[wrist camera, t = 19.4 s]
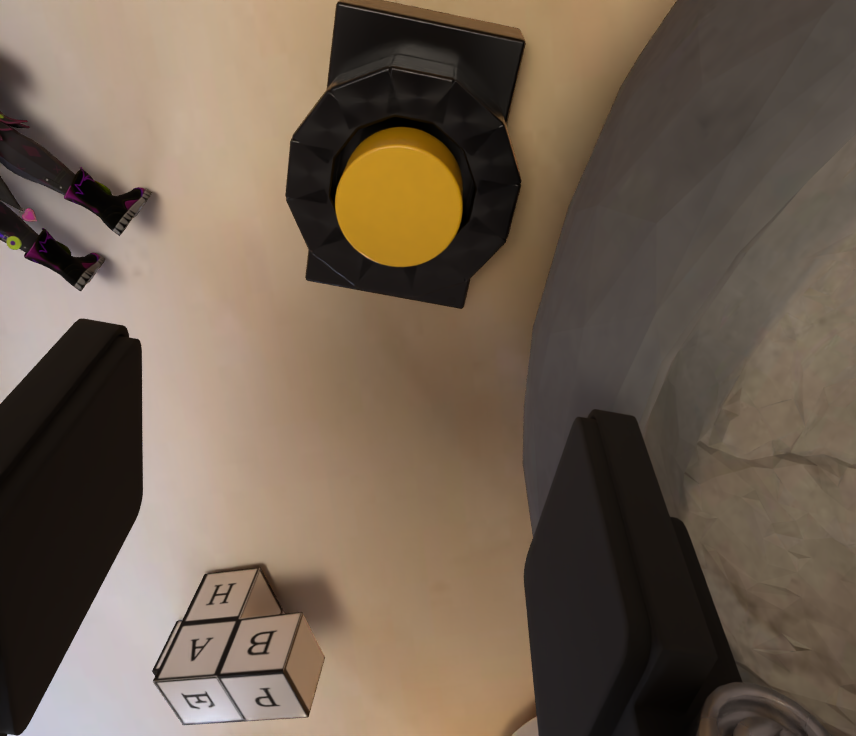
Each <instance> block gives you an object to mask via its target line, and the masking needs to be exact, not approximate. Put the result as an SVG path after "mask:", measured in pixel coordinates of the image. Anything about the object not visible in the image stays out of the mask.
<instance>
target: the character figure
mask: <svg viewBox="0 0 856 736" xmlns="http://www.w3.org/2000/svg"><path fill="white" fill-rule="evenodd" d="M23 122H28V121H27V120H16V119H12V118H9V117H7V116H5V115H4V114H3V113H2V112H1V111H0V162H1V163H2V164H3V165H4V166H5V167H6V168H7V169H9V170H10V171H12V172H13V173H15V174H17V175H19V176H21V177H23V178H25V179H28V180H30V181H33V182H36V183H39V184H41V185H44V186H46V187H48V188H51V189H53V190H55V191H57V192H59V193H61V194H63V195H64V199H66V200H69V201H71V202H74V203H76V204H79V205H81V206H83V207H85V208H86V209H88V210H90V211H91V212H93V213H94V214H96V215H97V216H99V217H100V218H101V219H102V221H103V222H104V223H105V224H106V225H107V226H108V227H109V228H110V229H111V230H112V231H113V232H115V233H116V234H118V235H119V236H120V235H121V234H122V233H123V231H124V230H125V229H126V227H127V226H128V224H129V223H130V221H131V220H132V218H134V217H135V216H136V215H137V214H138V213H139V212H140V210H141V208H142V207H143V205H144V204H145V203H146V201H147V200H148V198H149V197H150V195H151V193H152V192H150V191H148V190H146V189H144V188H139V187H138V188H134V189H133V190H132V191H130V192H128V193H125V194H123V195H119V196H113V195H112V193H111V191H110V190H109V189H108V188H107V187H106V186H104V185H103V184H101V183H99V182H97V181H95V180H93V178H92V177H91V176H90V175H89V174H88V173H87V172H85V171H84V170H83V169H82V167H80V170H79V171H78V172H77V173H76V175H75V174H74V173H73V172H72V171H71V170H70V169H68V168H67V167H66V166H65V165H64V164H63V163H61V162H60V161H59V160H58V159H57V158H56V157H54V156H53V155H52V154H51V153H50V152H48V151H47V150H46V149H45V148H43V147H42V146H41V145H39V144H38V143H36V142H35V141H33V140H32V139H30V138H28V137H26V136H24V135H23V134H21V133H20V132H18V131H16V130H15V129H13V128H12V127H14V128H20V129H22V128H30V127H29V126H26V125H23V124H21V123H23ZM11 126H12V127H11ZM0 200H2V201H3V202H5V203H7V204H9V205H11V206H13V207H15V208H17V209H19V210H20V211H19V213H21V211H23V210H25V209H23V208H21V207H20V205H19V204H18V202H17V201H16V199H15V198H14V196H13V195H12V193H11V192H10V190H9V188H8V187H7V185H6V184H5V182H4V181H3V179H2V178H1V176H0ZM22 209H23V210H22ZM24 212H25V213H24ZM24 212H23V213H21V214H23V215H22V218H23V220H25V221H37V220H36V216H35V213H34V211H33V210H32V209H30V208H28V209H26V210H25V211H24ZM23 220H22V219H21V218H20V217H19V216H18V215H17V214H16V213H14V212H13V211H12V210H11V209H10V208H9V207H7V206H6V205H5V204H3V203H2V202H1V201H0V240H1V241H3V242H5V243H7V246H8V247H9V248H11V249H13V250H17V249H21V250H22V251H24V252H26V253H25V255H24V257H25V258H26V259H28V260H31V261H33V262H36V263H38V264H41V265H43V266H46V267H48V268H50V269H51V270H53V271H55V272H57V273H58V274H60V275H61V276H62V277H63V278H64V279H65V280H66V281H68V282H69V283H70V284H71V285H72V286H74V287H75V288H76V289H78V290H79V291H82V289H83V288H84V287H85V285H86V284H87V283H89V282H90V281H91V279H92V278H93V276H94V275H95V274H96V272H97V271H98V269H99V268H100V267H101V265H102V264H103V263H104V261H105V259H104V258H103V257H101V256H100V255H98V254H96V253H90V254H88V255H86V256H85V257H73V256H71V252H70V250H69V248H68V247H66V246H65V245H63V244H62V243H60V242H58V241H56V240H55V239H54V238H53V237H52V236H51V235H50V234H49V233H48V232H47V230H46V229H44V228H42V230H43V231H42V232H41V233H40V234H39V235H38V234H37V233H36V232H35V231H34V230H33V229H32V228H30V227H29V226H28V225H27V224H26V223H25V222H24V221H23Z"/></svg>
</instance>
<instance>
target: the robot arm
mask: <svg viewBox="0 0 856 736" xmlns="http://www.w3.org/2000/svg"><path fill="white" fill-rule="evenodd" d="M142 495H143V455H142V349H141V343H140V341H139V340H138V339H134V338H129V333H128V330H127V328H126V327H125V326H123V325H117V324H111V323H106V322H100V321H94V320H89V319H79V320H77V321H76V322H75V323H74V324H73V325H72V326H71V327H70V328H69V330H68V331H67V332H66V333H65V334H64V335H63V336H62V337H61V338H60V339H59V341H58V342H57V343H56V344H55V345H54V346H53V347H52V348H51V349H50V350H49V351H48V353H47V354H46V355H45V356H44V357H43V358H42V359H41V360H40V361H39V362H38V364H37V365H36V366H35V367H34V368H33V369H32V370H31V371H30V372H29V373H28V374H27V376H26V377H25V378H24V379H23V380H22V381H21V382H20V383H19V384H18V385H17V387H16V388H15V389H14V390H13V391H12V392H11V393H10V394H9V395H8V396H7V397H6V399H5V400H4V401H3V402H2V403H1V404H0V736H7V734H11V735H20V734H21V733H22V732H23V731H24V730H25V729H26V727H27V726H28V724H29V722H30V721H31V719H32V717H33V715H34V713H35V711H36V709H37V707H38V705H39V704H40V702H41V700H42V698H43V696H44V694H45V692H46V690H47V688H48V686H49V684H50V683H51V681H52V679H53V677H54V675H55V673H56V671H57V669H58V667H59V665H60V663H61V662H62V660H63V658H64V656H65V654H66V652H67V650H68V648H69V646H70V644H71V642H72V641H73V639H74V637H75V635H76V633H77V631H78V629H79V627H80V625H81V623H82V621H83V619H84V618H85V616H86V614H87V612H88V610H89V608H90V606H91V604H92V602H93V600H94V598H95V597H96V595H97V593H98V591H99V589H100V587H101V585H102V583H103V581H104V579H105V577H106V576H107V574H108V572H109V570H110V568H111V566H112V564H113V562H114V560H115V558H116V556H117V555H118V553H119V551H120V549H121V547H122V545H123V543H124V541H125V539H126V537H127V535H128V534H129V532H130V530H131V528H132V526H133V524H134V522H135V520H136V518H137V516H138V513H139V510H140V506H141V502H142ZM524 587H525V597H526V608H527V618H528V629H529V639H530V650H531V661H532V671H533V682H534V692H535V703H536V714H537V724H538V735H539V736H831V735H830V734H829V733H828V732H827V731H826V729H825V728H824V727H823V726H822V725H821V724H820V722H819V721H818V720H817V719H816V718H815V717H814V716H813V715H812V714H810V713H809V712H808V711H807V710H805V709H804V708H803V707H802V706H801V705H799V704H798V703H797V702H796V701H794V700H792V699H790V698H788V697H787V696H785V695H783V694H781V693H779V692H778V691H776V690H774V689H770V688H767V687H764V686H761V685H758V684H755V683H743V682H742V679H741V676H740V674H739V671H738V668H737V665H736V663H735V660H734V657H733V654H732V652H731V649H730V646H729V643H728V641H727V638H726V635H725V632H724V629H723V627H722V624H721V621H720V618H719V616H718V613H717V610H716V607H715V605H714V602H713V599H712V596H711V594H710V591H709V588H708V585H707V583H706V580H705V577H704V574H703V571H702V569H701V566H700V563H699V560H698V558H697V555H696V552H695V549H694V547H693V544H692V541H691V538H690V536H689V533H688V530H687V528H686V526H685V525H684V523H683V522H682V521H681V520H680V519H678V518H675V517H670V515H669V512H668V510H667V507H666V504H665V501H664V498H663V495H662V492H661V489H660V486H659V483H658V480H657V477H656V474H655V471H654V469H653V466H652V463H651V460H650V457H649V454H648V451H647V448H646V445H645V442H644V439H643V436H642V433H641V430H640V428H639V425H638V422H637V420H636V418H635V417H634V416H632V415H627V414H621V413H616V412H610V411H604V410H599V409H593V410H592V411H591V412H590V414H589V415H588V417H587V418H584V417H579V416H578V417H576V419H575V420H574V422H573V424H572V427H571V430H570V433H569V435H568V438H567V441H566V444H565V447H564V450H563V453H562V456H561V459H560V461H559V464H558V467H557V470H556V473H555V476H554V479H553V482H552V484H551V487H550V490H549V493H548V496H547V499H546V502H545V505H544V508H543V510H542V513H541V516H540V519H539V522H538V525H537V528H536V531H535V534H534V536H533V539H532V542H531V545H530V548H529V551H528V554H527V557H526V562H525V569H524Z"/></svg>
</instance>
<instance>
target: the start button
mask: <svg viewBox="0 0 856 736" xmlns="http://www.w3.org/2000/svg"><path fill="white" fill-rule="evenodd" d="M335 210H336V216H337V220H338V223H339V226H340V228H341V230H342V232H343V234H344V236H345V237H346V239H347V240H348V242H349V243H350V244H351V245H352V246H353V247H354V248H355V249H356V250H357V251H358V252H359V253H361V254H362V255H364V256H365V257H367V258H368V259H370V260H372V261H374V262H377V263H380V264H383V265H387V266H393V267H408V266H415V265H419V264H422V263H425V262H427V261H429V260H431V259H433V258H435V257H436V256H438V255H439V254H440V253H442V252H443V251H444V250H445V249H446V248H447V247H448V246H449V244H450V243H451V242H452V241H453V239H454V237H455V236H456V234H457V232H458V229H459V227H460V223H461V220H462V213H463V183H462V176H461V172H460V168H459V166H458V163H457V161H456V159H455V158H454V156H453V154H452V153H451V152H450V150H449V149H448V148H447V147H446V146H445V145H444V144H443V143H442V142H441V141H440V140H438V139H437V138H436V137H434V136H432V135H431V134H429V133H427V132H424V131H422V130H418V129H415V128H408V127H394V128H388V129H384V130H381V131H379V132H376V133H374V134H372V135H371V136H369V137H367V138H366V139H365V140H364V141H362V142H361V143H360V144H359V145H358V146H357V148H356V149H355V150H354V152H353V153H352V154H351V156H350V158H349V160H348V162H347V165H346V167H345V169H344V172H343V174H342V176H341V179H340V181H339V184H338V187H337V191H336V196H335Z"/></svg>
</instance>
